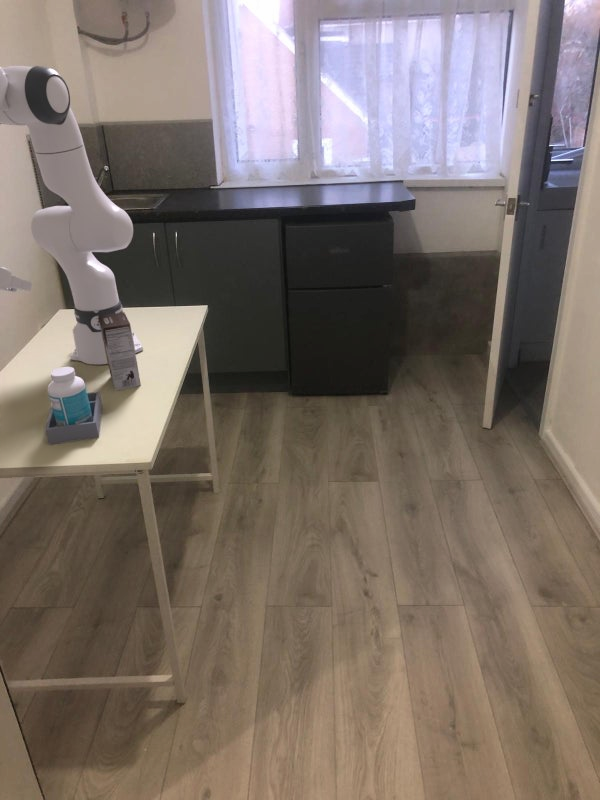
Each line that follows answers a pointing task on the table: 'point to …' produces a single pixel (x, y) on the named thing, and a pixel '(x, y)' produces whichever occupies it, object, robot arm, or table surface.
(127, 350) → the coffee box
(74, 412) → the pill bottle
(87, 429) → the parts tub
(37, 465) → the table surface
